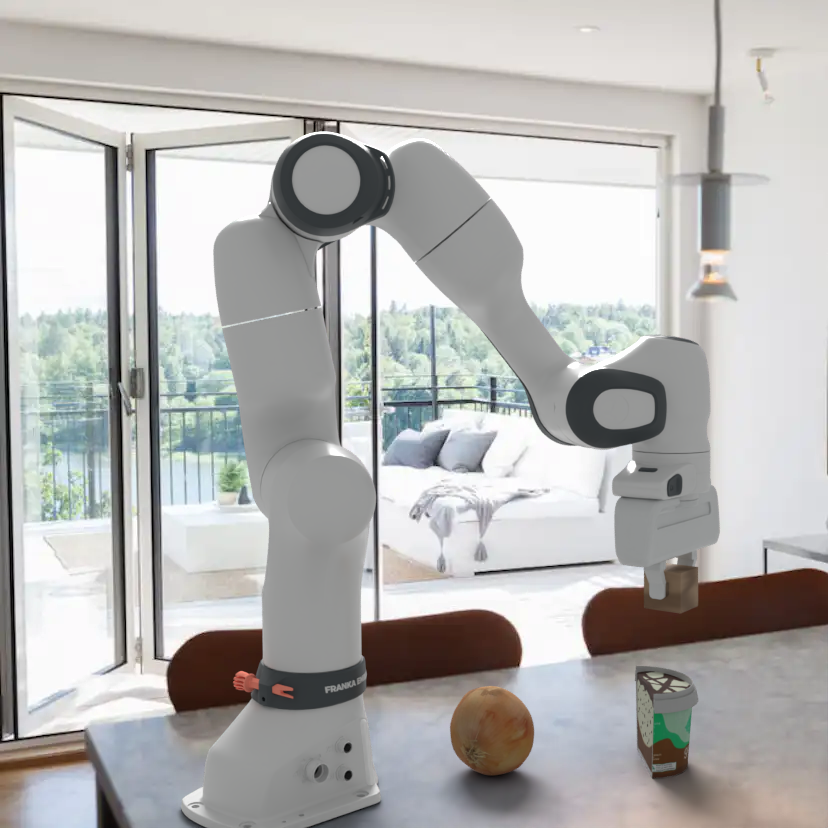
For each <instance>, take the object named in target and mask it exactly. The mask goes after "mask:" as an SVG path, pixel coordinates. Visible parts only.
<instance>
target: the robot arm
mask: <svg viewBox="0 0 828 828" xmlns="http://www.w3.org/2000/svg"><path fill="white" fill-rule="evenodd" d="M268 196H269V197H268V198H269V199H268V201H267V205H266V206H265V208H264V209H262V210H261V211H259V212H258V213H255V214H252V215H246V216H243V217H240V218H238V219H236V220H233V221H232V222H231V223H229V224H227V225H226V226H225V227H223V228H222V229H221V231H220V232H219V233H218V234H217V236H216V238H215V240H214V243H213V274H214V275H213V277H214V286H215V294H216V296H215V297H216V303H217V309H218V314H219V319H220V324H221V327H223V328H222V334H223V337H224V342H225V345H226V351H227V355H228V361H229V364H230V369H231V373H232V377H233V382H234V387H235V390H236V396H237V402H238V407H239V415H240V425H241V432H242V439H243V447H244V452H245V454H244V455H245V459H246V465H247V471H248V476H249V483H250V487H251V492H252V497H253V499H254V501H255V504H256V506H257V508H258V510H259V511H260V512H261V513H262V514H263V516H264V517H265V518H267V519H268V543H267V558H266V566H265V575H264V582H263V586H262V589H261V619H262V620H261V621H262V623H261V627H262V659H260V662H259V664H258V668H257V670H256V674H254V673H248V672H246V671H243V670H240V671H238V672H236V673H235V676H234V677H233V679H232V680H234V681H233V682H232V684H233V687H235V690H238V691H245V692H246V693H250V697H251V699H250V700H249V702H248V703H247V704H246V705H245V706H244V708H243V709H242V710H241V711H240V713H239V714H238V715H237V716H236V718H235V719H234V720H233V721H232V722H231V723H230V725H229V726H228V727H227V728H226V729H225V731H223V733H222V734H221V735H220V736H219V738H218V739H217V740H216V741H215V742H214V743H213V744H212V746H210V748H209V750H208V752H207V755H206V759H205V763H204V771H203V781H202V783H203V784H202V785H201V787H199V788H197V789H196V790H194V791H192V792H190V793H189V794H186V795H185V796H184V797H182V799H181V803H180V807H181V810H182V813H183V815H185V816H186V817H187V818H188V819H189V820H191V821H192V822H194V823H196V824H198V825H200V826H202V827H204V828H309V827H311V826H314V825H318V824H320V823H323V822H327V821H329V820H332V819H335V818H337V817H340V816H343V815H347V814H349V813H352V812H355V811H358V810H360V809H363V808H367V807H370V806H373V805H375V804H378V803H380V802H381V800H382V797H381V789H380V787H379V786H378V784H379V783H378V782H379V776H378V774H377V770H376V768H375V764H374V759H373V749H372V742H371V735H370V734H371V733H370V727H369V721H368V717H367V713H366V708H365V703H364V693H365V692H366V690H367V675H368V673H367V669H366V659H365V656H363V655H362V582H363V575H364V569H365V568H364V567H365V563H366V562H365V561H366V556H367V549H368V543H369V534H370V527H371V526H370V524H371V521H372V519H373V516H374V513H375V510H376V505H377V504H376V503H377V493H376V488H375V484H374V482H373V479H372V476H371V474H370V472H369V470H368V469H367V467H366V466H365V464H364V462H363V461H362V460H361V459H360V458H359V457H358V456H357V455H356V454H355V453H353V452H352V451H351V450H349V449H348V448H345V447H343V446H342V445H341V441H340V437H339V431H338V419H337V405H336V404H337V403H336V402H337V401H336V384H337V374H336V369H335V365H334V360H333V355H332V349H331V345H330V341H329V336H328V331H327V328H326V323H325V318H324V314H323V309H322V307H321V306H322V305H321V300H320V295H319V292H318V288H317V287H318V286H317V281H316V274H315V272H316V271H315V260H316V255H317V254H318V251H320V250H322V249H323V248H325V247H327V246H328V245H331V244H333V243H335V242H336V241H339V240H342V239H344V238H346V237H348V236H349V235H351V234H353V233H354V232H355V231H356V230H358V229H359V228H361V227H363V226H372V227H376V228H378V229H380V230H382V231H384V232H385V233H387V234H388V235H389V236H391V238H392V239H394V240H395V241H396V242H397V243H398V244H399V245H400V246H401V248H402V249H403V250H404V251H405V253H406V254H407V255H408V257H409V258H410V259H411V261H412V262H413V263H415V265H416V266H417V268H418V269H419V270H420V272H422V273H423V275H424V276H425V277H426V278H427V279H428V280H429V281H430V282H431V283H432V284H433V285H434V286H435V287H436V288H437V289H438V290H439V291H440V293H442V294H443V295H444V296H445V297H446V298H447V299H448V300H450V302H452V303H453V304H454V305H455V306H456V307H457V308H459V310H460V311H462V313H464V314H465V315H466V316H467V317H468V319H470V320H471V321H472V322H473V323H474V324H475V325H476V326H477V327H478V328H479V330H480V331H481V332H482V333H483V335H484V336H485V337H486V339H488V341H489V343H491V345H492V347H494V349H495V350H496V352H497V353H498V354H499V355H500V356H501V358H502V359H503V360H504V362H505V363H506V365H507V366H508V368H509V369H511V371H512V372H513V374H514V375H515V376H516V377H517V379H518V381H519V382H520V383H521V385H522V387H523V390H524V392H525V395H526V397H527V401H528V405H529V409H530V412H531V414H532V418H533V421H534V423H535V424H536V426H537V428H538V429H539V431H540V432H541V433H542V434H543V435H544V436H545V437H547V438H548V439H549V440H550V441H553V442H554V443H556V444H559V445H563V446H568V447H569V446H570V447H582V448H587V449H593V450H597V451H598V450H600V451H607V450H612V449H613V450H614V449H616V448H620V447H624V446H628V445H632V446H631V447H632V449H631V455H632V458H631V460H629V461H628V462H627V465H625V467H624V468H623V469H622V470H621V471H619V472H618V473H617V474H616V475H615V476H614V477H613V479H612V482H611V491H612V495H613V496H615V497H619V498H618V499H617V500H616V503H615V507H614V517H613V518H614V520H613V521H614V523H613V524H614V528H613V529H614V547H615V548H614V549H615V554H616V557H617V559H618V561H619V563H620V565H623V566H628V567H634V568H643V573H644V572H645V574H646V577H647V579H648V582H649V595H650V597H651V598H653V599H660V600H661V599H663V598H666V597H668V595H669V582H666V580H665V575H664V570H665V569H666V563H667V561H669V560H672V559H675V558H677V561H676V564H677V565H686V566H694V567H696V563H697V561H698V560H697V559H698V550H701V549H704V548H706V547H710V546H713V545H716V544H717V542H718V540H719V536H720V532H721V530H720V529H721V526H720V525H721V524H720V509H719V508H720V507H719V498H718V492H717V489H716V487H715V486H714V485H713V484H712V480H711V445H710V444H711V443H710V440H709V437H708V432H707V431H708V422H709V419H710V416H711V386H710V385H711V383H710V382H711V381H710V373H709V365H708V360H707V356H706V353H705V350H704V348H703V347H702V346H701V345H699V344H698V343H697V342H696V341H694V340H691V339H688V338H685V337H684V338H683V337H680V336H673V335H665V334H664V335H662V334H653V333H652V334H645V335H641V336H640V337H639V338H638V339H637V340H636V341H635V342H633V343H632V344H631V345H629V346H628V347H626V348H625V349H623V350H621V351H620V352H618V353H617V354H616V353H615V354H614V355H612V356H610V357H607V358H606V359H604V360H601V361H599V362H596V363H595V364H585V363H582V362H580V361H578V360H575V359H574V358H572V357H570V355H569V354H567V353H566V352H565V351H564V350H563V349H562V348H561V347H560V345H559V344H558V343H557V341H556V340H555V339H554V337H553V336H552V334H551V333H550V332H549V331H548V329H547V327H545V325H544V324H543V323H542V321H541V320H540V319H539V317H538V316H537V315H536V313H535V312H534V311H533V309H532V308H531V306H530V304H529V303H528V301H527V300H526V297H525V294H524V290H523V287H522V273H523V272H522V271H523V266H524V248H523V245H522V243H521V241H520V239H519V237H518V235H517V233H516V231H515V229H514V228H513V227H512V224H511V222H510V221H509V219H508V217H507V216H506V215H505V214H504V212H503V211H502V209H501V208H500V207H499V206H498V205H497V203H496V202H495V201H494V199H493V198H491V196H490V195H489V193H488V192H487V191H486V190H485V189H484V187H483V186H482V185H481V184H480V183H479V182H478V181H477V180H476V179H475V178H474V177H473V176H472V174H470V172H468V171H467V169H465V167H464V166H463V165H462V164H460V163H459V162H458V161H457V160H456V159H455V158H453V156H451V155H450V154H449V153H448V152H447V151H446V150H444V149H443V148H442V147H441V146H440V145H439V144H437V143H436V142H434V141H433V140H430V139H428V138H424V137H423V138H422V137H418V138H411V139H407V140H404V141H402V142H399V143H397V144H395V145H393V146H392V147H391V148H389V149H388V150H387V151H384V150H382V149H380V148H377V147H375V146H372V145H369V144H367V143H364V142H361V141H358V140H357V139H354V138H352V137H349V136H347V135H344V134H341V133H337V132H331V131H314V132H310V133H308V134H305V135H304V134H303V135H302V136H300V137H297V139H295V140H293V141H292V142H291V143H289V145H288V146H287V147H285V149H284V150H283V152H281V154H280V156H279V157H278V159H277V161H276V164H275V167H274V170H273V172H272V176H271V182H270V190H269V195H268ZM279 315H280V316H279Z"/></svg>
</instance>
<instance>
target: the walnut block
mask: <svg viewBox="0 0 828 828" xmlns="http://www.w3.org/2000/svg"><path fill="white" fill-rule="evenodd" d="M664 575H665V580H666V582H669V595H668V597H666V598H663V599H661V600H660V599H653V598H651V597H650V595H649V582H648V579H647V577H646V574H645V572H644V571H643V608H644V609H648V610H655V611H660V612H669V613H676V614H683V613H685V612H688V611H690V610H692V609H695V608H698V606H699V566H695V567H694V566H686V565H677V563H676V564H674V563H670V562H669V563H668V562H666V569H665V570H664Z"/></svg>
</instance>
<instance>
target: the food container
mask: <svg viewBox="0 0 828 828" xmlns="http://www.w3.org/2000/svg"><path fill="white" fill-rule="evenodd" d="M634 681H635V696H636V697H635V699H636V700H635V707H636V709H635V710H636V713H635V715H636V717H635V718H636V749H637V751H638V754H639V755H640V757H641V759H642V761H643V763H644V765H645V767H646V769H647V771H648V773H649V775H650V777H651V779H664V778H669V777H676V776H678V775H680V774H682V773H684V772H686V770H687V769H688V765H689V764H688V763H689V755H690V754H689V752H690V739H691V725H692V724H691V723H692V714H693V713H692V712H693V707H695V706H696V705H697V704H698V702H699V695H698V690H697V687H696V684H695V683H694V680H693V678H692V677H691V676H689V675H688V674H686V673H684V672H682V671H677V670H675V669H671V668H666V667H660V666H651V665H635V671H634Z"/></svg>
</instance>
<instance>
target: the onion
mask: <svg viewBox="0 0 828 828" xmlns="http://www.w3.org/2000/svg"><path fill="white" fill-rule="evenodd" d="M527 707H528V706H526V704H525V703H524V702H523V700H522V699H521V698H519V697H518V696H517V695H516V694H514V693H513V692H512V691H509V690H508V689H506V688H503V687H500V686H494V685H487V686H480V687H476V688H473V689H470V690H469V691H467V692H466V693H465V694H464V695H463V697H462V698H461V699H460V701H459V702H458V704H457V706H456V707H455V708H454V711H453V713H452V716H451V719H450V723H449V731H450V742H451V745H452V749H453V751H454V753H455V756H457V757H458V759H459V760H460V761H461V762H462V763H464V764H465V765H466V766H467V767H468V768H470V769H471V770H472V771H474V772H477V773H479V774H482V775H485V776H498V775H499V776H500V775H504V774H509V773H510V772H513V771H515V770H517V769H519V768H521V766H522V765H523V764H524V762H525V761H526V760H527V758H528V757H529V756H530V754H531V752H532V750H533V747H534V739H535V725H534V720H533V717H532V715H531V713H530V711H529V709H528V708H527Z"/></svg>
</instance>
